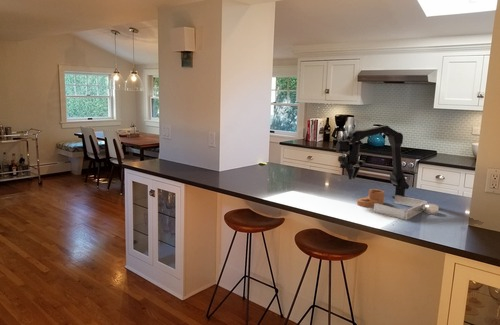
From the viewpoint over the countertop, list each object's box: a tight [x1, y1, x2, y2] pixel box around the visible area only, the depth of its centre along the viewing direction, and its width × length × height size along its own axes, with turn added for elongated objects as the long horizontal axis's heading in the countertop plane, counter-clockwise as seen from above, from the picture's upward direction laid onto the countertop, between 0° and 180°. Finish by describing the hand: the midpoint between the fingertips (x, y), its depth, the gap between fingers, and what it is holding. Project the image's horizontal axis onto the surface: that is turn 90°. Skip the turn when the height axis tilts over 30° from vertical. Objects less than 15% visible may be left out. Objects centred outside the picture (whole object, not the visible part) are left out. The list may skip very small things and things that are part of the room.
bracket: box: [356, 188, 385, 208], centre depth 210 cm, size 18×8×7 cm, turn 125°
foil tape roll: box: [423, 203, 439, 215], centre depth 197 cm, size 6×6×4 cm
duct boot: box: [373, 194, 428, 221], centre depth 199 cm, size 26×17×4 cm, turn 136°
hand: (351, 179), depth 218 cm, fingers open, 3 cm apart
